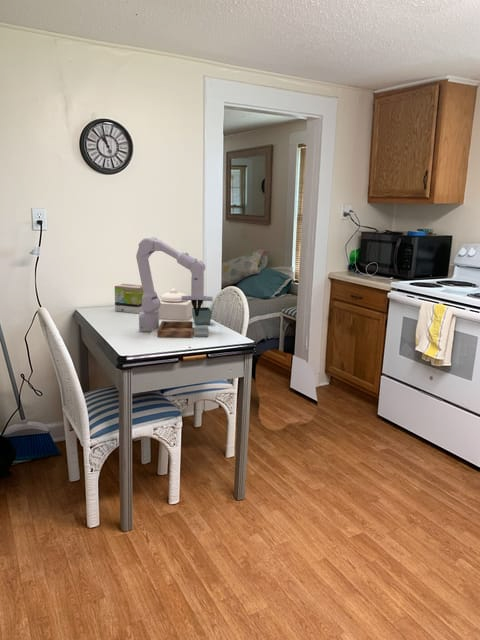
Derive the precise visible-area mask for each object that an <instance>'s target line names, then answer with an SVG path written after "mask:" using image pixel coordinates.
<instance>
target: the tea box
mask: <svg viewBox="0 0 480 640" xmlns="http://www.w3.org/2000/svg"><path fill="white" fill-rule="evenodd" d="M142 296H143V288H142V284H139V285H138V284H130V283H121V284H118V285H114V310H115V312H122V313H132V314H139V313H140V312H144V311H143V309H142Z"/></svg>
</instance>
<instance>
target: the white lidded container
mask: <svg viewBox="0 0 480 640" xmlns="http://www.w3.org/2000/svg"><path fill="white" fill-rule="evenodd" d="M182 296H188V295H187V294H186V293H183V292H179V291H178V289H177V288H175V287H172V288H170V290H169V291H168V292H164V293H163V294H160V297H159V300H160V302H161V305H160V307H159V308H158V310H159V320H167V321H188V320H189V319H190V318H192V317H193V315H192V308H193V305H192V303H191V301H189V300H184V301H182Z"/></svg>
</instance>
